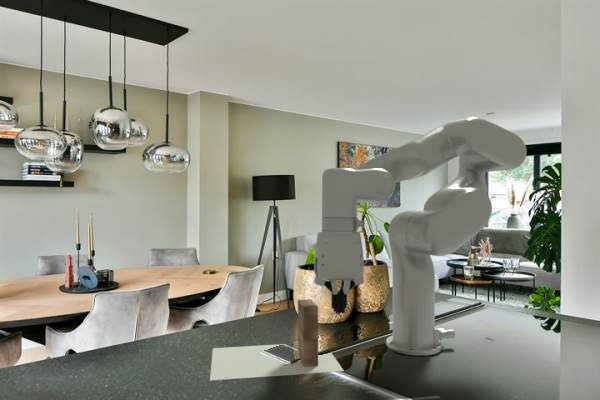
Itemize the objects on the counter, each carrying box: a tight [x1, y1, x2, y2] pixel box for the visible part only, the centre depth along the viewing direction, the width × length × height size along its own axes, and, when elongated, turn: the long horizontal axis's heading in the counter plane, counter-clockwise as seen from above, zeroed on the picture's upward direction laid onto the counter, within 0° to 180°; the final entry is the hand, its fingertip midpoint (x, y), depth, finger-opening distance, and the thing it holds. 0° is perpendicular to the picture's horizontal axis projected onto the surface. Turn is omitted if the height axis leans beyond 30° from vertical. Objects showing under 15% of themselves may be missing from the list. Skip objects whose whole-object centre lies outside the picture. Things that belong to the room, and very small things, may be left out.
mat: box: [209, 343, 345, 382], centre depth 92 cm, size 26×18×1 cm
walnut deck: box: [297, 298, 319, 367], centre depth 92 cm, size 3×7×12 cm, turn 10°
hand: (339, 311), depth 93 cm, fingers closed
